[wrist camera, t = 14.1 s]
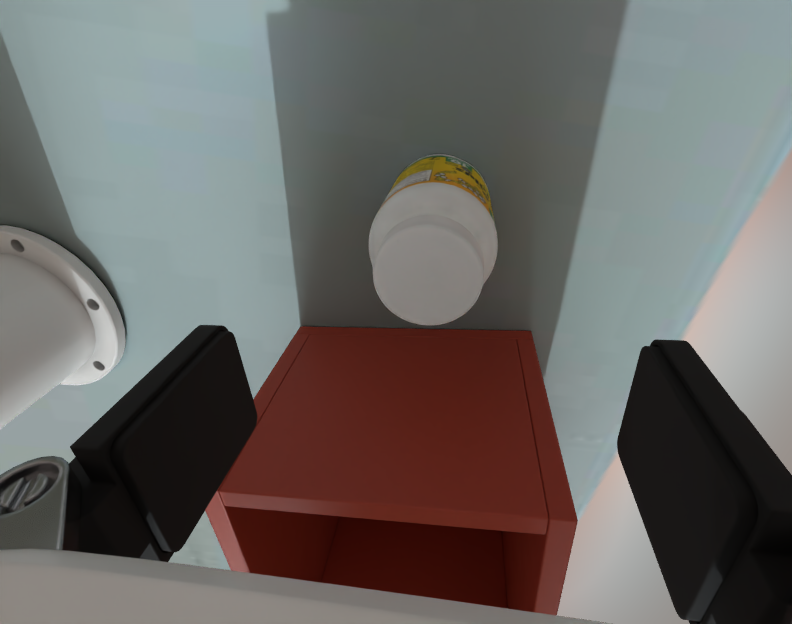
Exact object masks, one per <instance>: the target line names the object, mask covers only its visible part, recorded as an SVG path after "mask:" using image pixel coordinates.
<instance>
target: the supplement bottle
mask: <svg viewBox="0 0 792 624" xmlns="http://www.w3.org/2000/svg"><path fill="white" fill-rule="evenodd" d="M497 252H498V238H497V231H496V226H495V221H494V215H493V211H492V206H491V200H490V195H489V191H488V188H487V185H486V183H485V181H484V179H483V177H482V176H481V174H480V173H479V172H478V171H477V170H476V169H475V168H474V167H473V166H472V165H471V164H469V163H467V162H465V161H463V160H461V159H459V158H456V157H454V156H450V155H445V154H434V155H429V156H425V157H423V158H420V159H418V160H416V161H414V162H413V163H411V164H410V165H409V166H408V167H406V168H405V170H404V171H403V172H402V173H401V174H400V175H399V177H398V178H397V180H396V181H395V183H394V185H393V186H392V188H391V190H390V192H389V194H388V195H387V197H386V199H385V200H384V202H383V204H382V206H381V207H380V209H379V211H378V213H377V214H376V216H375V218H374V221H373V223H372V226H371V230H370V234H369V255H370V260H371V263H372V266H373V281H374V286H375V289H376V292H377V294H378V296H379V298H380V299H381V301H382V302H383V304H384V305H385V306H386V307H387V308H388V309H389V310H390V311H391V312H392V313H393V314H395V315H396V316H398V317H400V318H401V319H403V320H405V321H408V322H411V323H414V324H419V325H441V324H445V323H448V322H451V321H454V320H456V319H458V318H459V317H461V316H462V315H464V314H465V313H466V312H467V311H468V310H470V309H471V307H472V306H473V305H474V304H475V302H476V301H477V299H478V297H479V295H480V293H481V290H482V287H483V284H484V283H485V282H486V280H487V279H488V277H489V276H490V274H491V272H492V270H493V268H494V265H495V262H496V258H497Z"/></svg>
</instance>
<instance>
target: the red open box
mask: <svg viewBox="0 0 792 624" xmlns="http://www.w3.org/2000/svg"><path fill="white" fill-rule="evenodd" d="M253 401H254V404H255V408H256V411H257V424H256V427H255V429H254V430H253V432H252V434H251V435H250V437H249V439H248V440H247V442H246V444H245V445H244V447H243V449H242V450H241V452H240V454H239V455H238V457H237V458H236V460H235V462H234V463H233V465H232V467H231V468H230V470H229V472H228V473H227V475H226V477H225V478H224V480H223V482H222V483H221V485H220V486H219V488H218V490H217V491H216V493H215V495H214V496H213V498H212V500H211V501H210V503H209V505H208V506H207V508H206V510H205V511H206V513H207V515H208V518H209V520H210V522H211V525H212V527H213V529H214V532H215V534H216V536H217V539H218V541H219V543H220V545H221V548H222V550H223V552H224V555H225V557H226V559H227V562H228V564H229V566H230V569H231V571H238V572H246V573H254V574H261V575H269V576H276V577H284V578H291V579H298V580H306V581H313V582H320V583H328V584H335V585H342V586H350V587H357V588H364V589H371V590H379V591H386V592H393V593H401V594H408V595H415V596H422V597H430V598H437V599H444V600H451V601H458V602H465V603H472V604H479V605H486V606H493V607H500V608H507V609H514V610H521V611H528V612H535V613H542V614H549V615H556V616H557V611H558V607H559V602H560V598H561V593H562V589H563V584H564V580H565V575H566V571H567V566H568V562H569V557H570V553H571V548H572V544H573V539H574V535H575V530H576V526H577V521H578V520H577V516H576V512H575V508H574V504H573V500H572V496H571V491H570V487H569V483H568V479H567V475H566V471H565V467H564V463H563V459H562V455H561V451H560V447H559V442H558V438H557V434H556V430H555V426H554V422H553V418H552V414H551V410H550V406H549V402H548V398H547V393H546V389H545V385H544V381H543V377H542V373H541V369H540V365H539V361H538V357H537V353H536V349H535V344H534V341H533V336H532V332H531V331H511V330H459V329H408V328H357V327H305V326H301V327H300V328H299V330H298V331H297V333H296V334H295V336H294V337H293V339H292V340H291V342H290V343H289V345H288V346H287V348H286V350H285V351H284V353H283V354H282V356H281V357H280V359H279V360H278V362H277V364H276V365H275V367H274V368H273V370H272V371H271V373H270V375H269V376H268V378H267V379H266V381H265V382H264V384H263V385H262V387H261V389H260V390H259V392H258V393H257V395H256V396H255V398H254V399H253Z"/></svg>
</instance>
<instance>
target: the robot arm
mask: <svg viewBox="0 0 792 624" xmlns="http://www.w3.org/2000/svg"><path fill="white" fill-rule="evenodd" d="M125 343H126V340H125V328H124V324H123V321H122V317H121V314H120V312H119V310H118V308H117V305H116V303H115V301H114V299H113V298H112V296H111V295H110V293H109V292H108V290H107V289H106V287H105V286H104V284H103V283H102V282H101V281H100V280H99V279H98V277H97V276H96V275H95V274H94V273H93V272H92V270H90V269H89V268H88V267H87V266H86V265H85V264H84V263H83V262H82V261H81V260H79V259H78V258H77V257H76V256H75V255H73V254H72V253H70V252H69V251H67V250H66V249H65V248H63V247H62V246H60V245H59V244H57V243H55V242H53V241H51V240H49V239H47V238H46V237H44V236H42V235H39V234H37V233H34V232H31V231H28V230H26V229H23V228H17V227H12V226H7V225H0V429H1V428H3V427H4V426H5V425H7V424H8V423H9V422H10V421H12V420H13V419H14V418H16V417H17V416H18V415H20V414H21V413H22V412H23V411H25V410H26V409H27V408H29V407H30V406H31V405H32V404H34V403H35V402H36V401H38V400H39V399H40V398H41V397H43V396H44V395H45V394H47V393H48V392H49V391H50V390H52V389H53V388H54V387H56V386H57V385H58V384H63V385H82V384H89V383H92V382H94V381H97V380H99V379H101V378H102V377H104V376H105V375H106V374H108V373H109V372H110V371H111V370H112V369H113V368H114V367H115V366H116V365H117V364H118V363H119V361H120V359H121V358H122V356H123V354H124V348H125ZM256 424H257V411H256V408H255V404H254V401H253V398H252V394H251V391H250V387H249V384H248V381H247V377H246V374H245V370H244V367H243V364H242V360H241V357H240V353H239V350H238V347H237V343H236V340H235V337H234V335H233V333H232V332H229V331H228V329H227V328H226V327H224V326H216V325H200V326H198V327H197V328H195V329H194V330H193V331H192V332H191V333H190V334H189V335H188V336H187V337H186V338H185V339H184V340H183V341H182V342H181V343H180V344H179V345H177V346H176V347H175V348H174V349H173V350H172V351H171V352H170V353H169V354H168V355H167V356H166V357H165V358H164V359H163V360H162V361H161V362H159V363H158V364H157V365H156V366H155V367H154V368H153V369H152V370H151V371H150V372H149V373H148V374H147V375H146V376H145V377H144V378H142V379H141V380H140V381H139V382H138V383H137V384H136V385H135V386H134V387H133V388H132V389H131V390H130V391H129V392H128V393H127V394H126V395H124V396H123V397H122V398H121V399H120V400H119V401H118V402H117V403H116V404H115V405H114V406H113V407H112V408H111V409H110V410H109V411H107V412H106V413H105V414H104V415H103V416H102V417H101V418H100V419H99V420H98V421H97V422H96V423H95V424H94V425H93V426H92V427H91V428H89V429H88V430H87V431H86V432H85V433H84V434H83V435H82V436H81V437H80V438H79V439H78V440H77V441H76V442H75V443H74V444H73V445H71V446H70V448H71V450H72V451H73V453H74V455H75V456H76V457H75V458H74V459H73V460H72V461H71V462H70V463H69V464H68V462H67V461H66V460H64V459H63V458H61V457H56V456H48V457H40V458H36V459H33V460H30V461H27V462H24V463H22V464H20V465H18V466H15V467H13V468H11V469H10V470H8V471H6V472H5V473H3V474H1V475H0V624H611V623H604V622H597V621H591V620H584V619H576V618H570V617H563V616H556V615H549V614H542V613H535V612H528V611H521V610H514V609H507V608H500V607H493V606H486V605H479V604H472V603H465V602H458V601H451V600H444V599H437V598H430V597H422V596H415V595H408V594H401V593H393V592H386V591H379V590H371V589H364V588H357V587H350V586H342V585H335V584H328V583H320V582H313V581H306V580H298V579H291V578H284V577H276V576H269V575H261V574H254V573H246V572H238V571H231V570H223V569H216V568H208V567H200V566H193V565H185V564H177V563H170V562H168V561H169V560H170V558H171V556H172V555H173V553H174V552H177V551H179V550H180V549H181V548H182V547H183V546H184V544H185V542H186V541H187V539H188V538H189V536H190V534H191V533H192V531H193V529H194V528H195V526H196V524H197V523H198V521H199V519H200V518H201V516H202V514H203V513H204V511H205V510H206V508H207V506H208V505H209V503H210V501H211V500H212V498H213V496H214V495H215V493H216V491H217V490H218V488H219V486H220V485H221V483H222V482H223V480H224V478H225V477H226V475H227V473H228V472H229V470H230V468H231V467H232V465H233V463H234V462H235V460H236V458H237V457H238V455H239V454H240V452H241V450H242V449H243V447H244V445H245V444H246V442H247V440H248V439H249V437H250V435H251V434H252V432H253V430H254V429H255V427H256ZM617 447H618V454H619V457H620V460H621V463H622V465H623V468H624V471H625V474H626V476H627V479H628V481H629V484H630V487H631V489H632V493H633V495H634V498H635V501H636V503H637V506H638V509H639V512H640V515H641V517H642V520H643V523H644V526H645V528H646V531H647V534H648V537H649V539H650V542H651V545H652V547H653V550H654V553H655V556H656V558H657V561H658V564H659V567H660V569H661V572H662V575H663V577H664V580H665V583H666V586H667V589H668V591H669V594H670V596H671V599H672V602H673V605H674V607H675V610H676V612H677V614H678V615H679V617H680V618H681V619H684V620H689V623H690V624H792V475H791V474H790V472H789V471H788V470H787V469H786V467H785V466H784V465H783V463H782V462H781V461H780V459H779V458H778V457H777V456H776V454H775V453H774V452H773V450H772V449H771V448H770V446H769V445H768V444H767V442H766V441H765V440H764V439H763V437H762V436H761V435H760V433H759V432H758V431H757V429H756V428H755V427H754V426H753V424H752V423H751V422H750V420H749V419H748V418H747V416H746V415H745V414H744V413H743V412H742V411H741V410H740V409H739V408H738V406H737V405H736V404H735V403H734V401H733V400H732V399H731V398H730V396H729V395H728V393H727V392H726V391H725V389H724V388H723V387H722V386H721V384H720V383H719V382H718V380H717V379H716V378H715V376H714V375H713V374H712V373H711V371H710V370H709V369H708V367H707V366H706V365H705V363H704V362H703V361H702V359H701V358H700V357H699V355H698V354H697V353H696V351H695V350H694V349H693V348H692V346H691V345H690V344H689V343H688V342H687V341H680V340H654V341H653V342H652V343H651V345H650V346H644V347H643V348H642V349H641V352H640V355H639V359H638V363H637V367H636V371H635V375H634V378H633V382H632V386H631V390H630V394H629V397H628V401H627V405H626V409H625V413H624V416H623V420H622V424H621V428H620V432H619V436H618V441H617Z"/></svg>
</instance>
